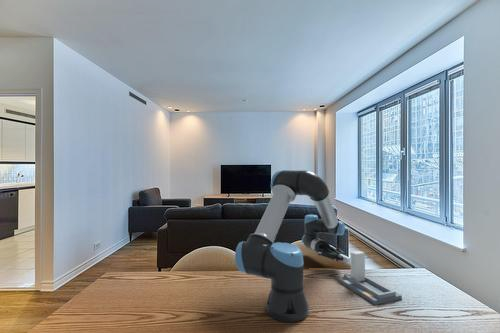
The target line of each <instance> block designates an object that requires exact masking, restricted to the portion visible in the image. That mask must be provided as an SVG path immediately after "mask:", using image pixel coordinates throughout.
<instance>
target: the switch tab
mask: <svg viewBox="0 0 500 333" xmlns="http://www.w3.org/2000/svg"><path fill="white" fill-rule="evenodd" d="M365 256H366V252H363V251H362V250H357V251H356V250H355V251H351V252H350V259H351V264H350V273H351V277H352V278H354V279H355V280H357V281H364V280H365V276H366V257H365Z"/></svg>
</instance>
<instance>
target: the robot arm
mask: <svg viewBox="0 0 500 333" xmlns="http://www.w3.org/2000/svg"><path fill="white" fill-rule="evenodd" d="M270 181H271V182H270V189H271V193H272V196H271V198H270V200H269V202H268V205H267V206H266V208H265V211H264V213H263V215H262V217H261V219H260V222H259V223H258V225H257V227H256V229H255V232H254V233H250V234H249V235H248V237H247V240H246V241H245V240H243V241H239V242H238V244H237V246H236V248H235V252H234V253H235V254H234V261H235V266H236V268H237V270H238V271H240V272H241V273H244V274H247V275H251V276H256V277H259V278H265V279H269V280H270V283H271V285H270V292H269V293H268V299H267V301H266V313H267V314H268V316H269V317H270V318H272V319H274V320H277V321H280V322H285V323H296V322H299V321H303V320H305V319H306V318H308V316H309V313H310V312H309V308H310V306H309V302H308V301H307V297H306V294H305V291H304V265H305V262H304V254H303V251H302V249H301V248H300V247H299V246H297V245H295V244H293V243H289V242H279V241H277V242H275V240H276V237H277V234H278V232H279V230H280V229H281V228H280V227H281V225H282V223H283V220H284V218H285V215H286V213H287V210H288V208H289V206H290V203H292V202H294V201H295V199H296V197H297V196H307V197H309V199H310V200H311V201H313V203H314V205H315V207H316V209H317V212H318V213H319V216H320V218H321V219H319V216H318V215H317V214H306V215H304V234H303V236H302V238H301V243H302V242H303V243H304V245H305V246H306V247H305V248H306V249H309V250H311V251H312V252H315V253H316V254H317V255H318V256H322V257H325V258H327V259H331V260H332V261H333V260H336V262H339V261H341V262H343V263H345V264H346V265H351V257H349V256H347V255H346V252H344V251H343V250H342V249H341V248H340V247H339V246H336V248H335V247H333V246H331V245H330V243H329V242H327V241H325V240H323V239H320V238H319V234H328V235H333V236H344V234H345V229H346V227H345V226H346V225H345V222H344V221H341V220H338V217H337V215H336V212H335V209H334V207H333V204H332V202H331V199H330V190H329V187H328V185H327V184H326V182H325V181H324V179H322V178H321V177H320V176H319V175H317V174H316V173H315V172H312V171H309V170H304V169H303V170H290V169H289V170H286V169H285V170H278V171H276V172H274V174H273V175H272V177H271V180H270ZM304 245H303V246H304Z"/></svg>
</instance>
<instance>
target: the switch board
mask: <svg viewBox="0 0 500 333" xmlns="http://www.w3.org/2000/svg"><path fill="white" fill-rule="evenodd" d="M338 282H339V283H340V284H342V285H343V286H345V287H347V289H349V290H350V291H353V292H354V293H356V294H357V295H358V296H360V297H362V298H363V299H365V300H366V301H368V302H370V303H371V304H372V305H375V306H376V305H380V304H386V303H390V302H394V301H401V300H403V296H402V294H400V293H399V292H396V291H395V290H393V289H391V288H389V287H387V286H385V285H383V283H382V284H381V283H380V282H378V281H376V280H374V279H372V278H370V277H369V276H366V275H365V280H364V281H357V280H355V279H354V278H352V277H351V272H350V273H345V274H343V277H338Z"/></svg>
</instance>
